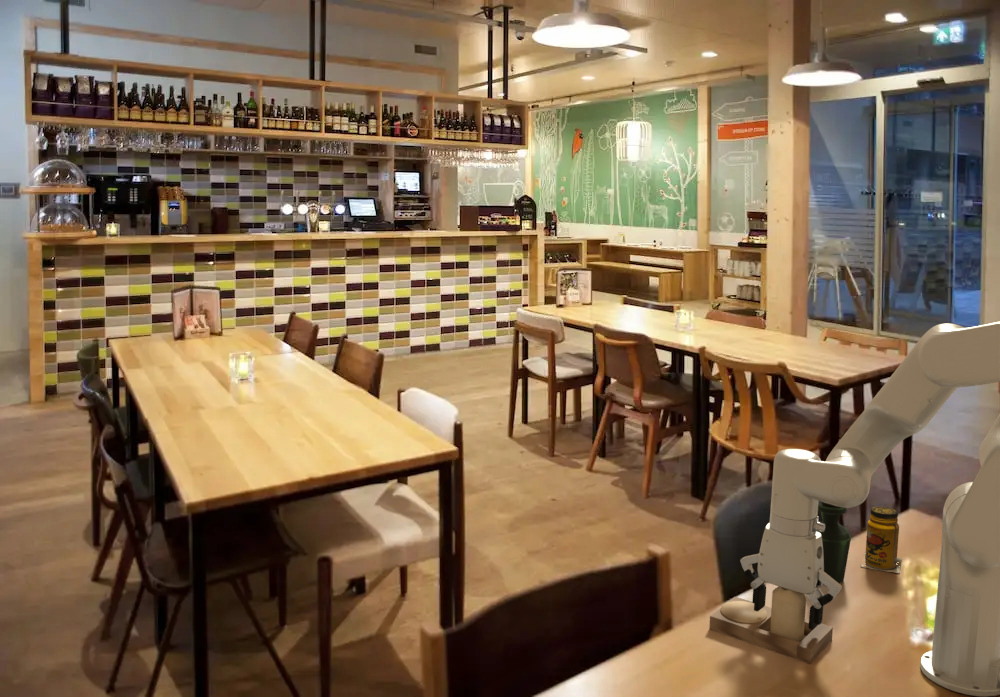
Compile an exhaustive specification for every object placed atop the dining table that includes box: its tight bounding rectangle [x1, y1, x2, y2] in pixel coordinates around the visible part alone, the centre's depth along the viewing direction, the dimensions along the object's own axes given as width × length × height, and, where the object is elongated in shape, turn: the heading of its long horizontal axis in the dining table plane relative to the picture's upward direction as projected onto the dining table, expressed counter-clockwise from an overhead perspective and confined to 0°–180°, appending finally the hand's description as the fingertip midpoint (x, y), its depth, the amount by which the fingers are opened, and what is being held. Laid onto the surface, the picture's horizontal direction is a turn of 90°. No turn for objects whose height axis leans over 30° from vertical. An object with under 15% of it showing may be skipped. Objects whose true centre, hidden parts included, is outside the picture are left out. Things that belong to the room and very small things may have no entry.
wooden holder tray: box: [709, 596, 834, 665], centre depth 151 cm, size 18×10×3 cm, turn 49°
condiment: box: [860, 506, 903, 574], centre depth 180 cm, size 7×8×12 cm
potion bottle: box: [817, 501, 852, 585], centre depth 172 cm, size 8×8×18 cm
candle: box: [769, 586, 807, 642], centre depth 148 cm, size 6×6×10 cm
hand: (786, 617), depth 148 cm, fingers open, 9 cm apart
